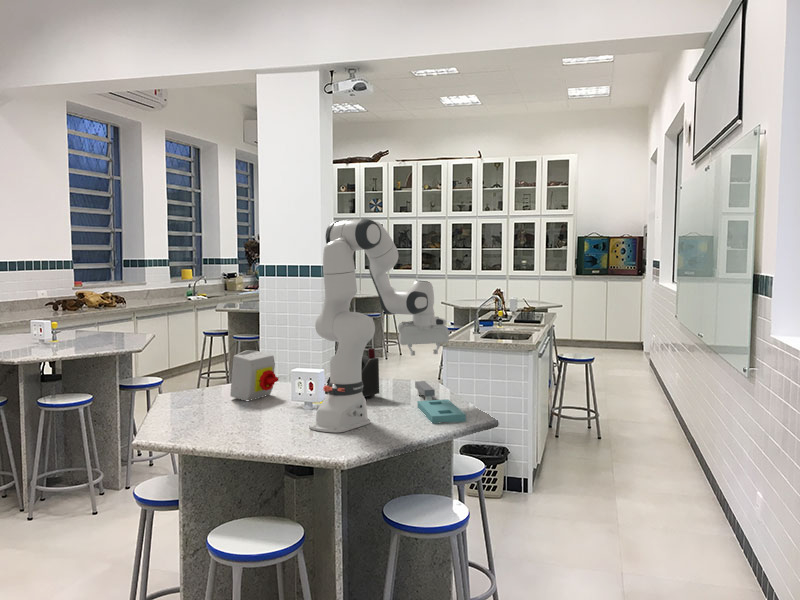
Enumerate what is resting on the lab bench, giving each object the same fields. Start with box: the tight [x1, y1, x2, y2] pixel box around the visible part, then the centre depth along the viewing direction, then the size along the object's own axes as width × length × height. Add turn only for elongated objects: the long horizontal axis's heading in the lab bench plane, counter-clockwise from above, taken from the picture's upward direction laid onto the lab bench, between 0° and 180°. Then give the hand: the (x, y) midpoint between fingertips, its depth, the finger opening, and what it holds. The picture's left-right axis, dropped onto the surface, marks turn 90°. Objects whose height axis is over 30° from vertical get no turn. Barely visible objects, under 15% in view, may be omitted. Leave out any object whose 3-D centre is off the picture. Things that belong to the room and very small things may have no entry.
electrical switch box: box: [229, 349, 279, 401], centre depth 265 cm, size 15×15×20 cm
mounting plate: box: [417, 398, 467, 424], centre depth 233 cm, size 24×12×2 cm, turn 11°
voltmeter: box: [324, 348, 380, 398], centre depth 264 cm, size 16×16×20 cm
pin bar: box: [414, 380, 436, 401], centre depth 258 cm, size 18×4×6 cm, turn 11°
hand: (424, 354), depth 257 cm, fingers open, 8 cm apart
